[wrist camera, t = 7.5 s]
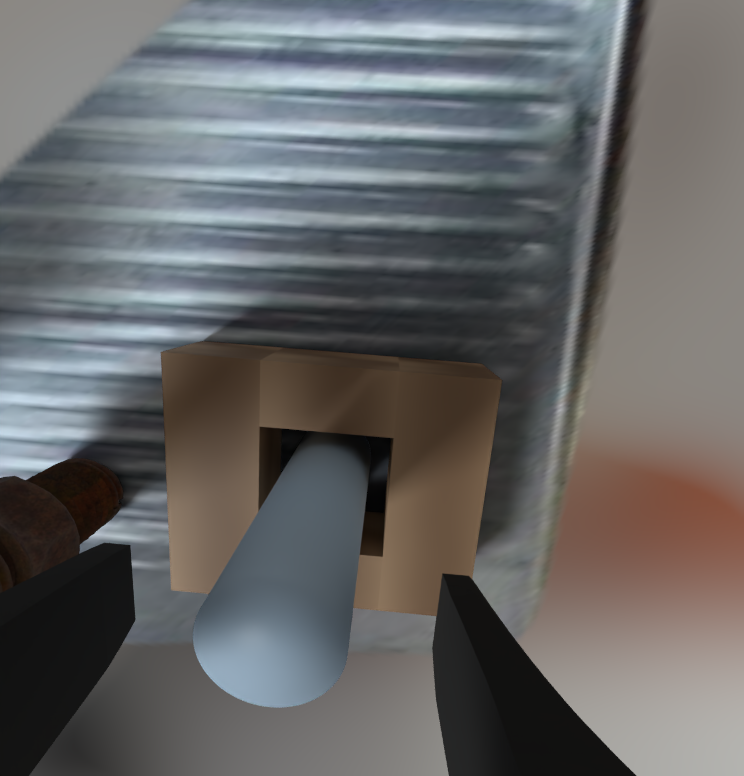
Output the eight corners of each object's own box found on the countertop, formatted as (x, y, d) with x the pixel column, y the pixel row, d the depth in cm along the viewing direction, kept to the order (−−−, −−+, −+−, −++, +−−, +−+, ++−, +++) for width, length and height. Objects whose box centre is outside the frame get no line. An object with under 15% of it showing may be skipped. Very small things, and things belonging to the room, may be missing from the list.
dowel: (301, 487, 18) (201, 705, 8) (297, 420, 17) (184, 574, 8) (371, 488, 17) (349, 710, 8) (370, 420, 17) (345, 577, 8)
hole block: (206, 542, 18) (171, 590, 15) (202, 341, 16) (160, 351, 13) (454, 566, 18) (465, 618, 15) (481, 363, 16) (502, 380, 13)
